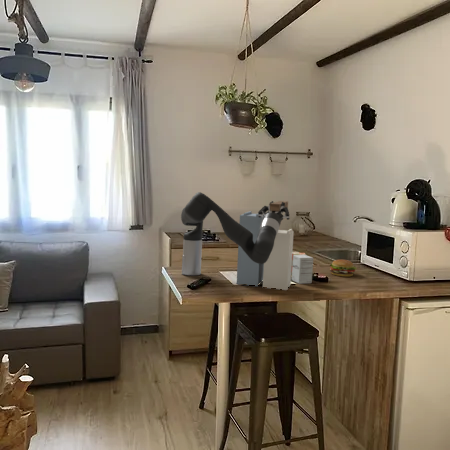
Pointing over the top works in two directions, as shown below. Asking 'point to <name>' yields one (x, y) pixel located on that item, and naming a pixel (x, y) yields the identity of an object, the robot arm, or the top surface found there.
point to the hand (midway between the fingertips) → (277, 203)
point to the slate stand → (246, 267)
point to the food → (342, 268)
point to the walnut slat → (277, 205)
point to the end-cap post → (279, 262)
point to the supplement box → (302, 269)
